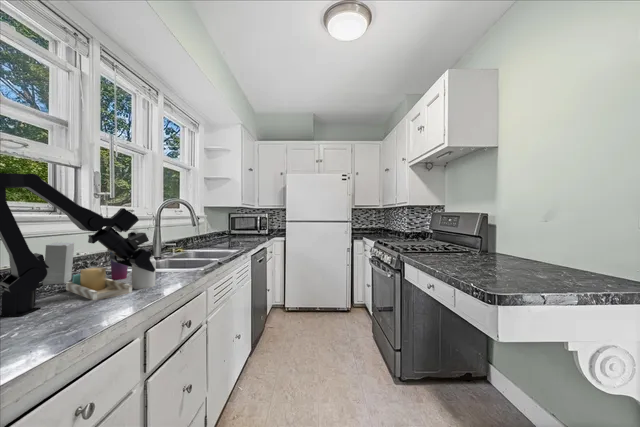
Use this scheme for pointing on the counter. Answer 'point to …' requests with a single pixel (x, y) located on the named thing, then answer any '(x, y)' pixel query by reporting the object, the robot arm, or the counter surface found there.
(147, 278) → the can
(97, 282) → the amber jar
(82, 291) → the tray
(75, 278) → the pusher plate
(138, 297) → the counter surface
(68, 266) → the skincare box
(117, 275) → the cup
